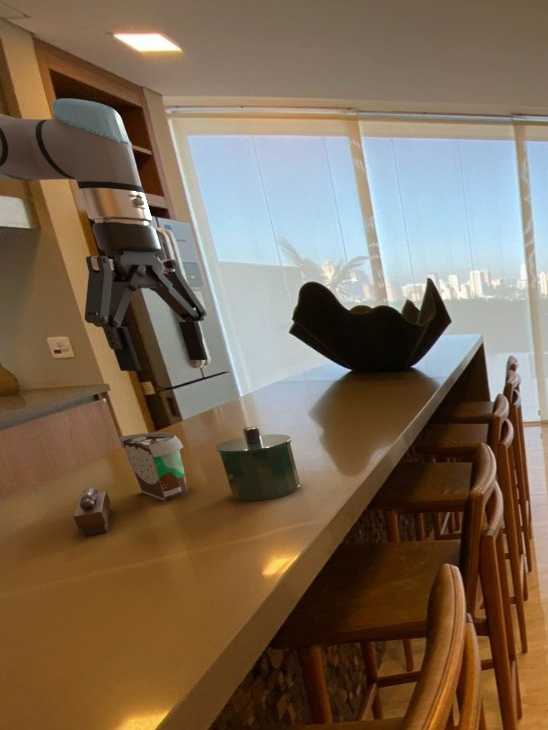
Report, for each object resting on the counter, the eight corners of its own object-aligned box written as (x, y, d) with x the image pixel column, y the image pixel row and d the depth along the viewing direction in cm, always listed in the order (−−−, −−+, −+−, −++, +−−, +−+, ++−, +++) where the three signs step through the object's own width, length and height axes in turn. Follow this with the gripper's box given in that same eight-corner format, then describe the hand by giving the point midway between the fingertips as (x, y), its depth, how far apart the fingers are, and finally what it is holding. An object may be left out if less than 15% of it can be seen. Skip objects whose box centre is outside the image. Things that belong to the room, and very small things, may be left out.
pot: (230, 490, 101) (216, 444, 98) (294, 478, 107) (283, 434, 104) (236, 505, 94) (221, 456, 90) (305, 492, 100) (293, 445, 96)
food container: (210, 491, 100) (193, 437, 96) (169, 502, 95) (150, 445, 92) (177, 481, 106) (160, 428, 102) (137, 490, 101) (118, 436, 97)
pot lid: (214, 447, 98) (208, 427, 97) (286, 437, 104) (281, 417, 103) (220, 461, 90) (213, 439, 89) (297, 449, 97) (292, 428, 95)
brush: (88, 514, 91) (77, 485, 89) (113, 509, 92) (102, 481, 91) (82, 538, 82) (69, 506, 80) (109, 532, 84) (97, 502, 82)
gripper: (64, 213, 75) (120, 376, 83) (208, 230, 98) (241, 356, 106) (11, 214, 75) (72, 375, 83) (167, 231, 98) (203, 356, 106)
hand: (167, 365), depth 95 cm, fingers open, 13 cm apart
